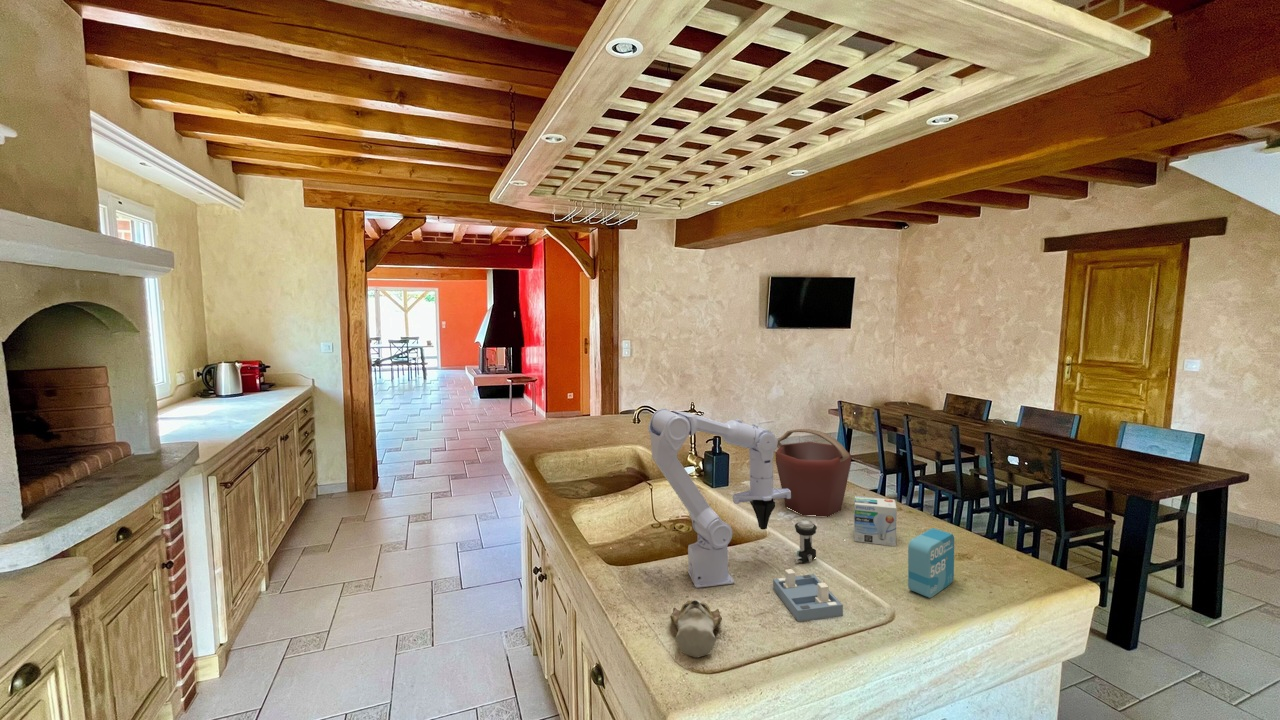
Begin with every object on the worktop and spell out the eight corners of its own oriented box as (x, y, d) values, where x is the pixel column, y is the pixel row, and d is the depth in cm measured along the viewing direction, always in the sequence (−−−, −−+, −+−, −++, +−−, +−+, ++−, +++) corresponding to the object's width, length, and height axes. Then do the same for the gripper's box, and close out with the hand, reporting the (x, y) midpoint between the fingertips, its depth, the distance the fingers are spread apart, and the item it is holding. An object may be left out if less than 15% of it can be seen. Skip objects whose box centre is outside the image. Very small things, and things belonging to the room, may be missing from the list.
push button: (803, 568, 129) (803, 530, 128) (787, 560, 134) (786, 523, 133) (821, 560, 132) (821, 523, 131) (805, 553, 137) (804, 516, 136)
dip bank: (797, 621, 108) (797, 610, 107) (773, 588, 120) (773, 578, 120) (842, 615, 109) (842, 604, 109) (813, 583, 122) (813, 573, 122)
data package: (928, 600, 113) (928, 547, 112) (907, 591, 117) (907, 540, 116) (954, 582, 120) (954, 532, 119) (934, 574, 124) (934, 526, 122)
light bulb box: (854, 541, 142) (853, 504, 141) (853, 531, 148) (853, 495, 147) (897, 547, 138) (897, 507, 137) (895, 536, 144) (895, 499, 143)
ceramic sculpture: (665, 618, 96) (670, 581, 111) (667, 664, 96) (671, 621, 111) (723, 620, 95) (720, 582, 110) (725, 667, 95) (721, 622, 110)
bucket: (762, 501, 175) (760, 428, 172) (812, 489, 184) (811, 419, 181) (814, 527, 153) (813, 444, 150) (868, 512, 162) (868, 433, 159)
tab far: (786, 592, 117) (786, 574, 116) (783, 588, 119) (782, 569, 118) (797, 591, 117) (797, 572, 117) (793, 586, 119) (793, 568, 118)
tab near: (819, 607, 110) (819, 588, 110) (815, 602, 112) (814, 583, 112) (831, 606, 111) (830, 586, 110) (826, 601, 113) (826, 581, 112)
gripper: (738, 483, 124) (740, 537, 126) (795, 477, 126) (796, 531, 128) (729, 474, 131) (731, 525, 133) (783, 469, 133) (784, 520, 135)
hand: (762, 527), depth 131 cm, fingers closed
